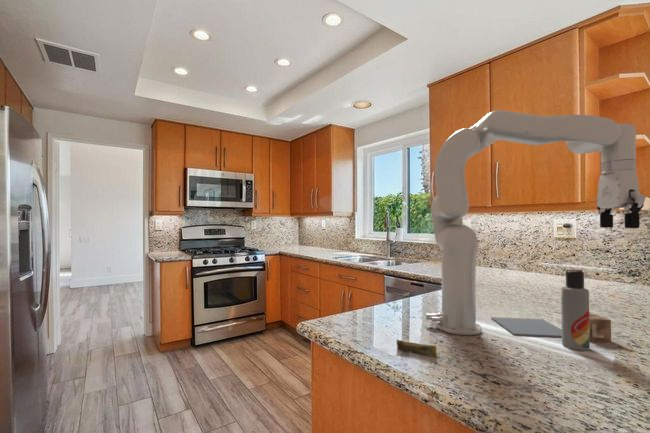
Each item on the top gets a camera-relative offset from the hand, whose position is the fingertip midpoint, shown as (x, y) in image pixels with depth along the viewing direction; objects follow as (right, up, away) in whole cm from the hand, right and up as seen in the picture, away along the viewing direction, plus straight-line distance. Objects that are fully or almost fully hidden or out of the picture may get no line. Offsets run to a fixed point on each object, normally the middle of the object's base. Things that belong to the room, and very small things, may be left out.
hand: (618, 227), depth 92 cm
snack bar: (-62, -31, -14) cm, 71 cm away
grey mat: (-22, -31, +6) cm, 38 cm away
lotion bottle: (-19, -31, -9) cm, 37 cm away
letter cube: (-10, -31, -2) cm, 32 cm away
